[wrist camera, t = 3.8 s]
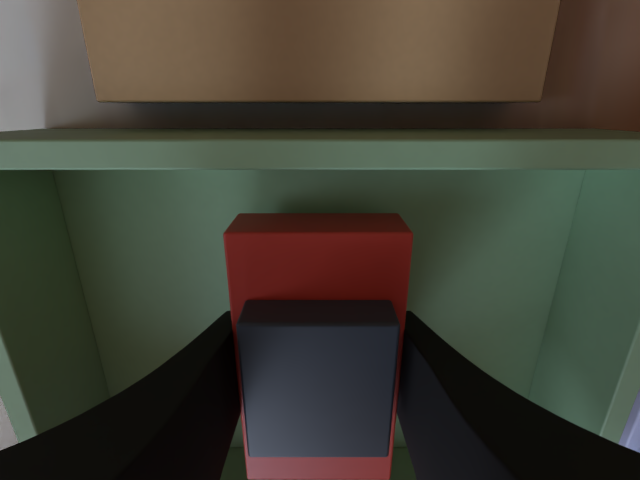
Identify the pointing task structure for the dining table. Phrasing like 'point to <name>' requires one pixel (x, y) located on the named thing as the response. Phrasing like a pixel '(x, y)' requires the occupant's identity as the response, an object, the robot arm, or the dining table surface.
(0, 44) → the dining table surface
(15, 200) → the crate
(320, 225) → the toy car
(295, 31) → the stand
